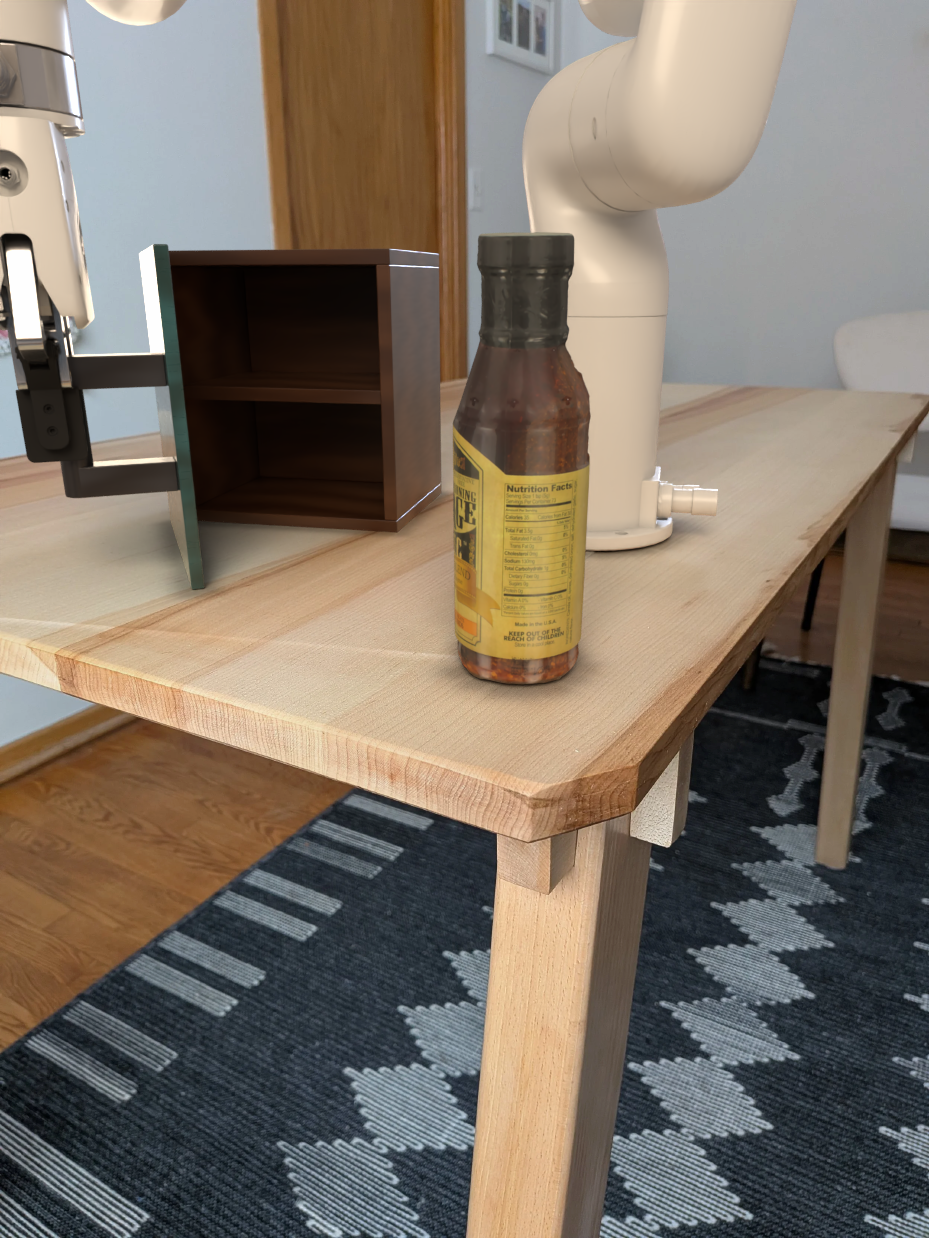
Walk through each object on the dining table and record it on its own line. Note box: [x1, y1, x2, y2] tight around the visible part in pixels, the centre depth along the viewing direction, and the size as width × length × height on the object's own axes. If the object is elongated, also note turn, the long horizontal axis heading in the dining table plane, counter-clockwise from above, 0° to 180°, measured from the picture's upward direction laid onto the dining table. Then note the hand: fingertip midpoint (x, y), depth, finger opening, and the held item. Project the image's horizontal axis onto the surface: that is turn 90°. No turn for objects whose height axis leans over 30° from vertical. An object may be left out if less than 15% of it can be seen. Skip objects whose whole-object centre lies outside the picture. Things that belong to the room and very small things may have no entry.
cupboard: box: [169, 248, 442, 533], centre depth 74 cm, size 14×18×20 cm
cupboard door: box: [59, 243, 206, 590], centre depth 60 cm, size 7×18×20 cm, turn 21°
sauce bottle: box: [452, 232, 591, 685], centre depth 42 cm, size 7×6×20 cm
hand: (60, 454), depth 53 cm, fingers closed on cupboard door, 2 cm apart
